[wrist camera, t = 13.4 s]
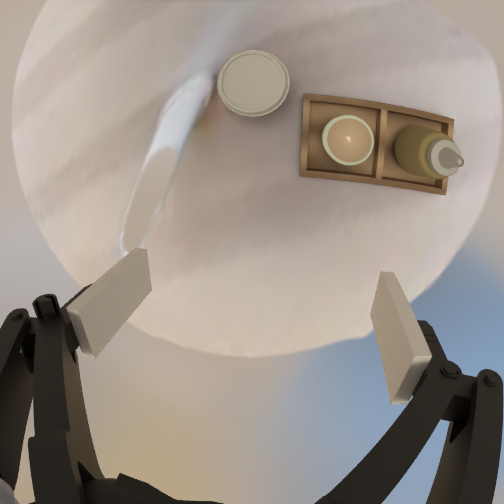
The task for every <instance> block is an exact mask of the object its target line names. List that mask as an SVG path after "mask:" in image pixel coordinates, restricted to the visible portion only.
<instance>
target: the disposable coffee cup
mask: <svg viewBox="0 0 504 504" xmlns="http://www.w3.org/2000/svg"><path fill="white" fill-rule="evenodd" d="M289 87H290V78H289V74H288V71H287V69H286V67H285V65H284V64H283V63H282V61H281V60H280V59H278V58H277V57H276V56H274V55H273V54H271V53H268V52H266V51H262V50H247V51H243V52H240V53H238V54H236V55H234V56H233V57H231V58H230V59H229V60H228V61H227V62H226V63H225V64H224V65H223V67H222V69H221V70H220V73H219V76H218V92H219V95H220V97H221V99H222V101H223V102H224V104H225V105H226V106H227V107H228V108H229V109H231V110H232V111H234V112H236V113H237V114H240V115H243V116H249V117H257V116H262V115H266V114H268V113H271V112H272V111H274V110H276V109H277V108H278V107H279V106H280V105H281V104H282V103H283V102H284V100H285V98H286V97H287V94H288V92H289Z"/></svg>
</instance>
